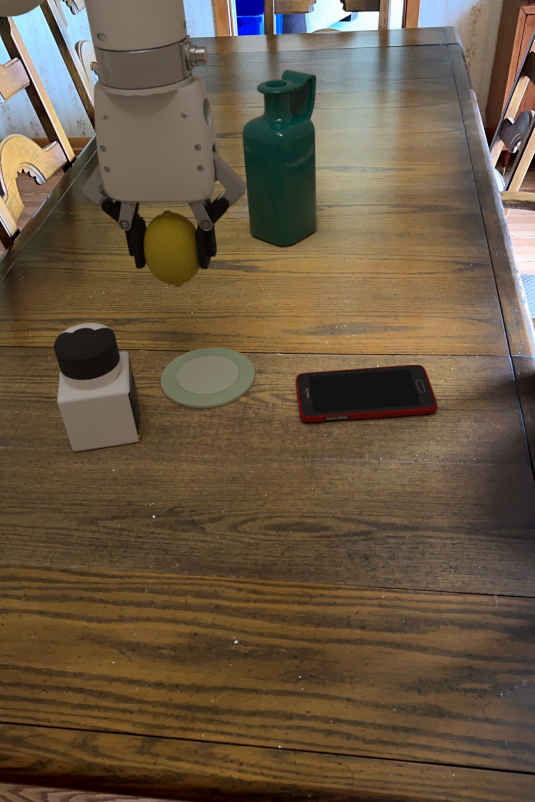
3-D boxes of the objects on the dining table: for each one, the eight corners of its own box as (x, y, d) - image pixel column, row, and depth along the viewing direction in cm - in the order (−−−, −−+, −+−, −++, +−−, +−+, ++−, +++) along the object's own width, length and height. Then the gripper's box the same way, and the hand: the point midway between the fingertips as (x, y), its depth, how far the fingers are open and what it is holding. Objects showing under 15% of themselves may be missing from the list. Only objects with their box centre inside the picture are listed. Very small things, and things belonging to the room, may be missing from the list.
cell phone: (438, 414, 76) (439, 407, 75) (300, 424, 76) (300, 418, 75) (423, 370, 82) (423, 363, 81) (294, 379, 82) (294, 373, 81)
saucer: (151, 407, 80) (150, 403, 79) (171, 349, 88) (170, 345, 88) (249, 409, 78) (248, 406, 78) (260, 350, 87) (259, 347, 86)
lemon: (164, 270, 74) (151, 196, 69) (214, 275, 73) (205, 200, 68) (141, 297, 70) (126, 222, 65) (194, 303, 69) (183, 227, 64)
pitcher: (285, 250, 106) (278, 95, 91) (244, 234, 110) (231, 84, 96) (327, 225, 111) (326, 75, 97) (286, 211, 115) (280, 66, 101)
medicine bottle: (141, 443, 75) (119, 350, 68) (72, 453, 75) (43, 361, 67) (139, 400, 81) (119, 310, 73) (75, 410, 80) (48, 320, 72)
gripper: (254, 48, 60) (266, 244, 71) (58, 54, 62) (101, 243, 74) (242, 75, 54) (257, 283, 66) (26, 80, 56) (78, 281, 68)
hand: (174, 260), depth 70 cm, fingers closed on lemon, 5 cm apart
